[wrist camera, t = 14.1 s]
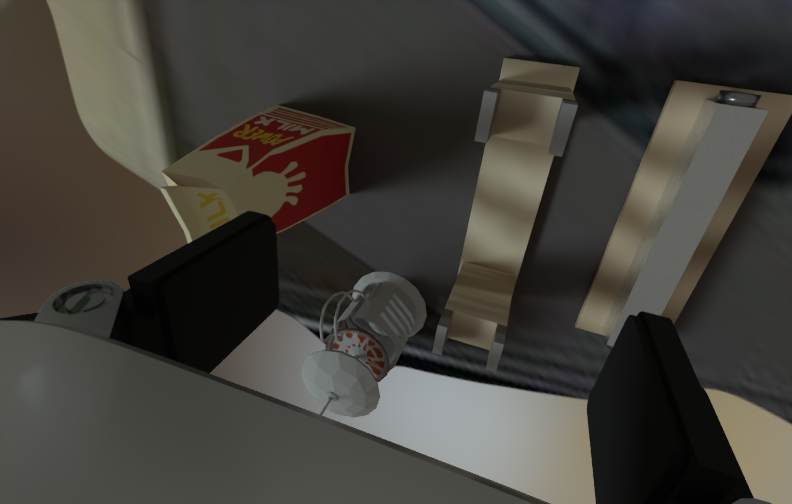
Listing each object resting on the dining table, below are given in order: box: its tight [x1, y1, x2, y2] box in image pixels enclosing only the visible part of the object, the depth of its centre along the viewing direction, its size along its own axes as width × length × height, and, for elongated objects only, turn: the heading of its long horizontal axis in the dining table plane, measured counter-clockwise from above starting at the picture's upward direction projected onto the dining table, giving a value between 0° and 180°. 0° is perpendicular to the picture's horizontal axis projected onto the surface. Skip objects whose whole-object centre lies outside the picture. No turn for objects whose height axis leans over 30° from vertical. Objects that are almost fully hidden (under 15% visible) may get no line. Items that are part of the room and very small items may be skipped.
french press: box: [302, 272, 427, 417], centre depth 39 cm, size 10×12×25 cm
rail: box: [603, 90, 768, 350], centre depth 34 cm, size 24×3×3 cm, turn 174°
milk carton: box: [159, 105, 356, 243], centre depth 36 cm, size 9×9×20 cm
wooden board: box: [575, 80, 792, 335], centre depth 36 cm, size 24×8×1 cm, turn 173°
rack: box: [432, 58, 580, 373], centre depth 34 cm, size 24×6×12 cm, turn 173°
